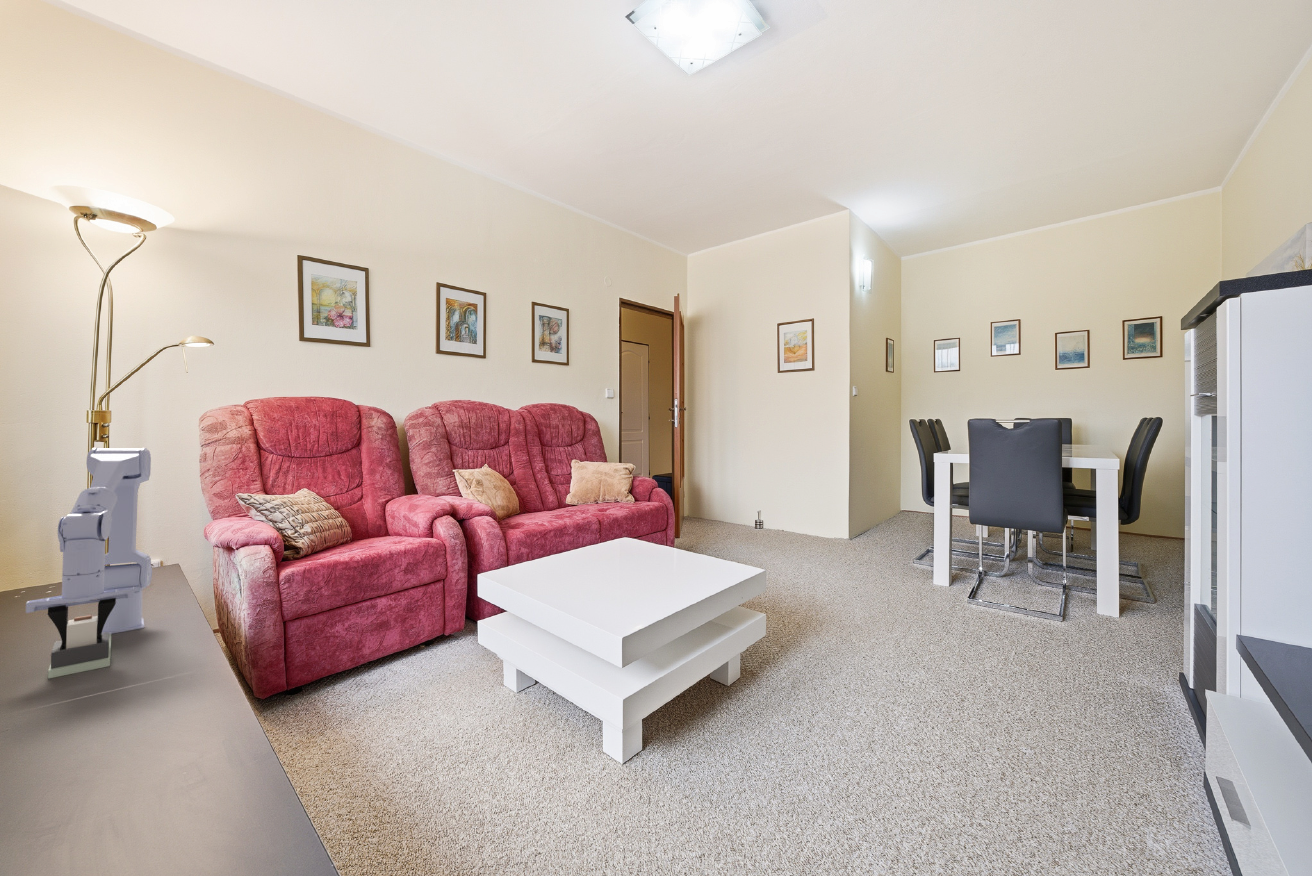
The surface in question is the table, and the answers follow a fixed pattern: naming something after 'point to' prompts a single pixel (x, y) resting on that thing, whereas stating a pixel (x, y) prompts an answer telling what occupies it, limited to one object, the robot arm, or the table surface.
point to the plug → (81, 631)
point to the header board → (80, 657)
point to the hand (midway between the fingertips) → (81, 640)
